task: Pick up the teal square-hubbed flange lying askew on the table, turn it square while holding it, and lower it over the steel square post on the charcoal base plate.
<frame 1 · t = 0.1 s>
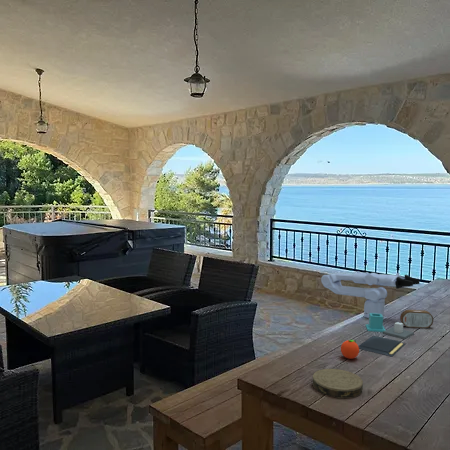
hand: (415, 282, 205), 22 cm above the table, tool horizontal, fingers open, 7 cm apart
flange: (375, 329, 201), on the table
wallet: (381, 347, 179), on the table
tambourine: (337, 388, 139), on the table
tin: (416, 327, 205), on the table
post block: (398, 334, 194), on the table
clementine: (350, 358, 165), on the table
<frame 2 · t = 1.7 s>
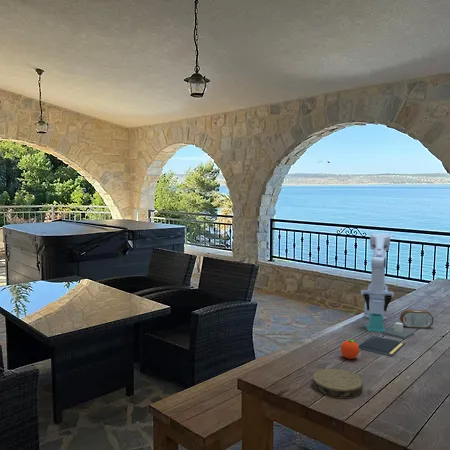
hand: (376, 310, 201), 9 cm above the table, tool pointing down, fingers open, 7 cm apart
nothing on the table moved.
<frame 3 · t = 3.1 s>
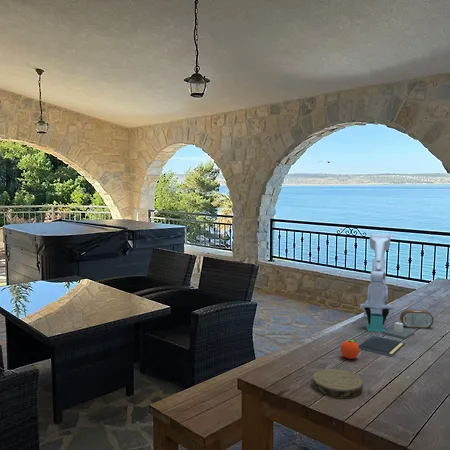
hand: (375, 324, 201), 2 cm above the table, tool pointing down, fingers open, 5 cm apart
flange: (375, 329, 201), on the table, touching gripper, post block
everything else where it was.
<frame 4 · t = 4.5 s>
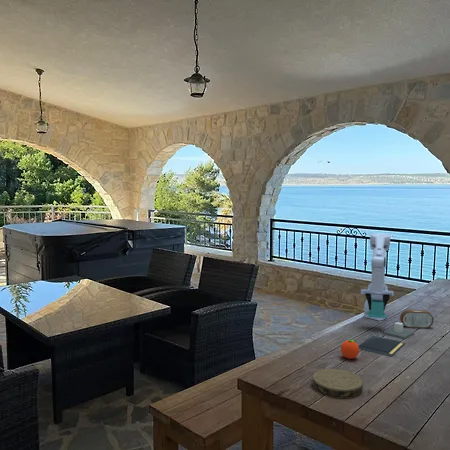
hand: (376, 309, 201), 9 cm above the table, tool pointing down, fingers closed on flange, 5 cm apart
flange: (376, 315, 201), point 7 cm above the table, touching gripper
everything else where it was.
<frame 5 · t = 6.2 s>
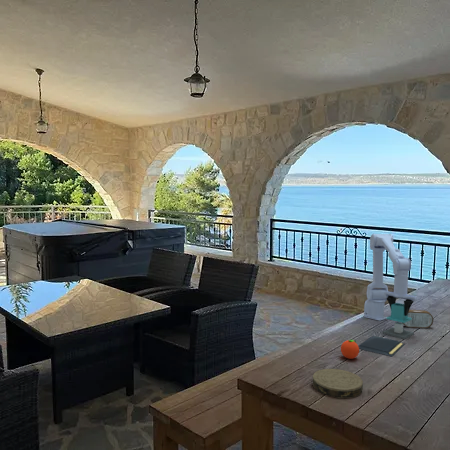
hand: (399, 313, 194), 9 cm above the table, tool pointing down, fingers closed on flange, 5 cm apart
flange: (399, 319, 194), point 7 cm above the table, touching gripper
everything else where it was.
when the fingers open (5 cm above the table, at t = 8.2 s): flange drops 1 cm, resting on post block.
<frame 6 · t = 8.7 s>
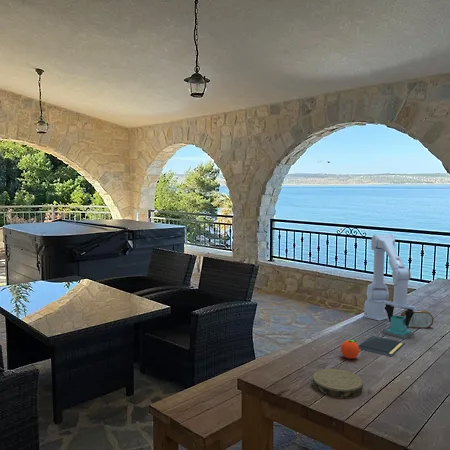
hand: (398, 323, 194), 5 cm above the table, tool pointing down, fingers open, 7 cm apart
flange: (398, 331, 194), point 1 cm above the table, touching post block
everything else where it was.
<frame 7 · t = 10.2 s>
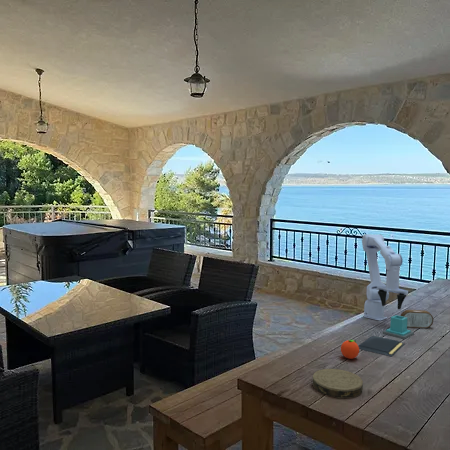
hand: (391, 307, 204), 10 cm above the table, tool pointing down, fingers open, 7 cm apart
nothing on the table moved.
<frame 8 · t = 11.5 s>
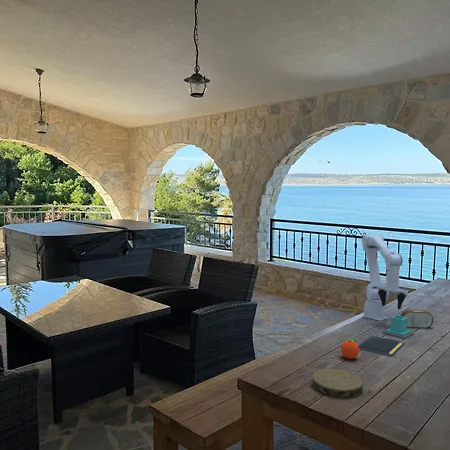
hand: (391, 307, 204), 10 cm above the table, tool pointing down, fingers open, 7 cm apart
nothing on the table moved.
at the end: flange 0.0 cm from the post block (horizontally); flange point 1.0 cm above the table; the gripper is holding nothing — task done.
